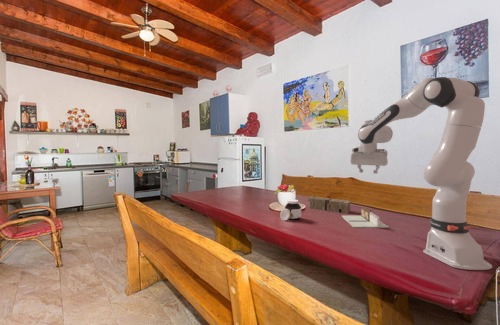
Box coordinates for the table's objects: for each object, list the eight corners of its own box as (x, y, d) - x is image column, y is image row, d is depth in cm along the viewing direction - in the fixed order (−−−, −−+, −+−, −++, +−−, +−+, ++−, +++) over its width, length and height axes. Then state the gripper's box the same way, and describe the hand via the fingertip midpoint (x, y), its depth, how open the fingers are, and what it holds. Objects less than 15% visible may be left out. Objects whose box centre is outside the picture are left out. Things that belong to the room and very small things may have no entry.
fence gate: (379, 226, 144) (379, 217, 143) (377, 226, 144) (377, 217, 143) (371, 221, 154) (371, 212, 154) (369, 221, 155) (369, 212, 154)
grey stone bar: (351, 213, 182) (312, 206, 201) (351, 201, 181) (312, 195, 200) (347, 215, 176) (307, 208, 195) (347, 202, 175) (308, 196, 194)
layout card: (388, 227, 144) (388, 226, 144) (353, 227, 146) (353, 226, 146) (371, 216, 168) (371, 215, 168) (341, 216, 170) (341, 215, 170)
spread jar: (302, 217, 167) (302, 199, 167) (297, 222, 157) (297, 203, 157) (284, 216, 172) (284, 198, 172) (278, 220, 162) (278, 201, 162)
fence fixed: (371, 222, 155) (371, 210, 155) (368, 222, 155) (369, 210, 155) (363, 216, 168) (363, 206, 167) (361, 216, 168) (361, 206, 168)
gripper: (389, 148, 146) (389, 173, 146) (354, 149, 161) (354, 171, 162) (385, 149, 142) (384, 174, 142) (349, 149, 157) (349, 172, 158)
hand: (368, 172), depth 152 cm, fingers open, 7 cm apart
